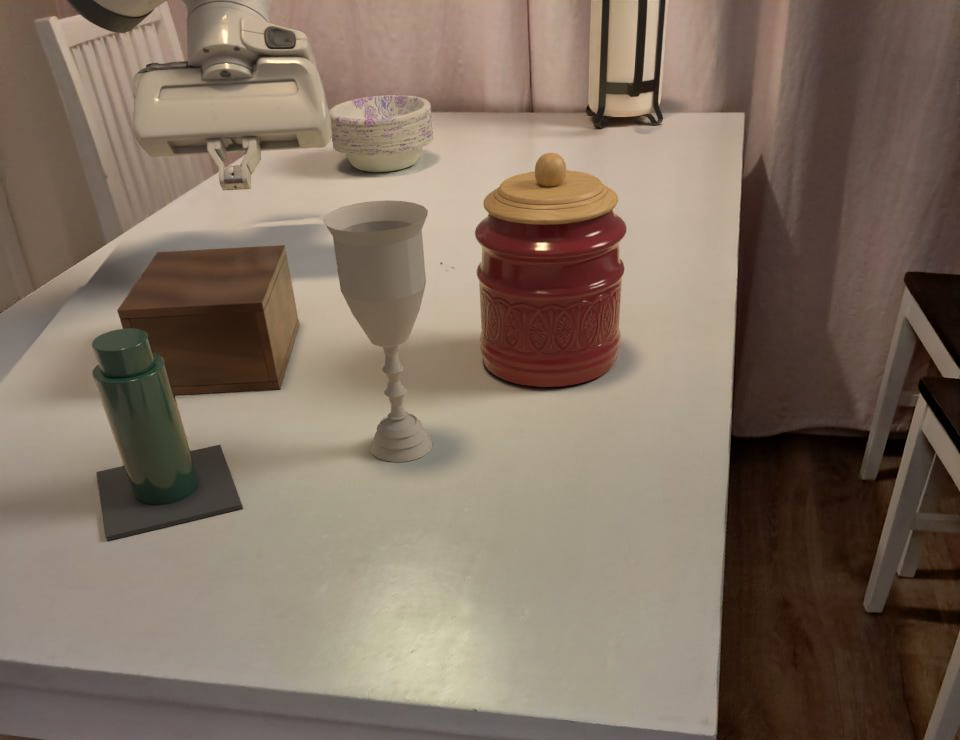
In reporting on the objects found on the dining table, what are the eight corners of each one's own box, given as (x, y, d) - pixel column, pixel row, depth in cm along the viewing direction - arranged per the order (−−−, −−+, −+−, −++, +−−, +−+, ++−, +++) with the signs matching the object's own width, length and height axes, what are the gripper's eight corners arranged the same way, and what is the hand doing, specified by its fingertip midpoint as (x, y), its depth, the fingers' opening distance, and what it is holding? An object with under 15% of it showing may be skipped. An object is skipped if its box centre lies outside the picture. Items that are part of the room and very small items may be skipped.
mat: (97, 475, 74) (96, 471, 74) (221, 448, 77) (220, 444, 77) (107, 541, 67) (105, 536, 67) (243, 508, 70) (241, 504, 69)
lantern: (556, 123, 155) (558, -107, 135) (618, 104, 162) (629, -115, 143) (635, 139, 145) (650, -106, 125) (698, 118, 153) (722, -115, 133)
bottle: (121, 491, 72) (68, 342, 64) (174, 464, 74) (130, 318, 66) (158, 512, 69) (108, 361, 61) (212, 484, 72) (170, 335, 64)
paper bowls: (337, 183, 134) (329, 121, 129) (333, 156, 145) (325, 98, 140) (441, 173, 135) (437, 112, 130) (429, 147, 147) (425, 90, 141)
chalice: (439, 421, 79) (421, 196, 67) (451, 461, 74) (434, 225, 62) (354, 431, 78) (320, 206, 66) (360, 472, 73) (325, 236, 61)
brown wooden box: (178, 331, 96) (157, 251, 90) (299, 325, 96) (285, 244, 90) (143, 396, 85) (116, 310, 79) (280, 389, 85) (262, 302, 79)
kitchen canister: (626, 334, 90) (638, 133, 78) (610, 395, 81) (621, 177, 69) (496, 328, 93) (490, 132, 81) (466, 386, 83) (453, 175, 72)
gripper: (120, 44, 93) (123, 175, 93) (321, 32, 93) (326, 164, 92) (144, 85, 100) (147, 208, 99) (332, 74, 99) (337, 198, 99)
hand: (235, 187), depth 96 cm, fingers closed
